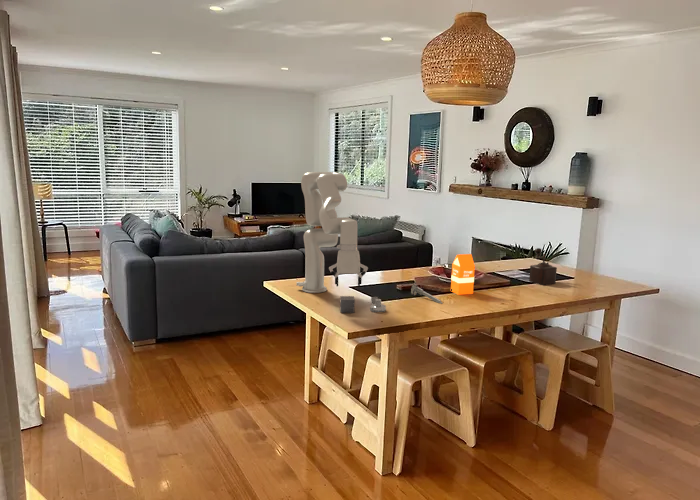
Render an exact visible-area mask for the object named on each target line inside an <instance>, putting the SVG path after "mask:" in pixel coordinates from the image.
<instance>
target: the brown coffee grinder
mask: <svg viewBox="0 0 700 500" xmlns="http://www.w3.org/2000/svg"><path fill="white" fill-rule="evenodd" d="M542 250H543V249H542V248H540V247H537V248H535V249H534V253H535V254H536V255H535V259H542V262H540V263H538V264H532V265H530V266H529V267H530V268H529V276H528V277H529V279H528V281H529V282H530V283H533V284H536V285H540V286H549V285H555V284H556V279H557V269H558V268H557V267H556V266H553V265H551V264H549V261H547V262H545V261H546V253H542V252H543V251H542ZM541 253H542V254H541Z"/></svg>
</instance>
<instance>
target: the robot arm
mask: <svg viewBox="0 0 700 500" xmlns="http://www.w3.org/2000/svg"><path fill="white" fill-rule="evenodd" d="M300 179H301V180H300V185H301V191H302V193H303V197H304V208H305V209H304V210H305V211H304V212H305V221H306V224H307V225H308V226H310V227H321V228H310V229H308V230H305V232H304V233H303V243H304V244H303V245H304V250H305V251H304V254H305V257H304V259H305V264H304V265H305V268H304V269H305V272H304V273H305V276H304V278H305V279H304V281H296V284H295V285H296V286H298V287H302V288H301V290H302V291H303V292H305V293H309V294H310V293H311V294H320V293H325V292H326V291H327V290H328V288H327V286H325V256H324V253H323V251H321V248H331V247H332V248H333V247H335V246H336V249H339V250H338V252H337V260H336V263H334V264H332V265H331V266H329V267H328V270H329V271H330V274H331V275H332V277H334V285H336V287H339V275H340V274H341V275H357V286H358V287H361V285H362V281H363V280H362V279H363V277H364V276H365V275H366V273H367V271H368V269H369V267H368V266H367V265H364V264H362V263H361V257H360V256H361V255H360V251H359V249H358V221H357V220H356V219H352V217H349V216H348V217H347V216H345V217H344V216H343V217H342V216H341V217H338V215H337V211H336V209H335V208H336V207H338V206H339V205H340V204H341V202H342V196H341V193H340V192H344V191H345V190H346V189H347V188H348V181H347V177H346V176H345V175H344V174H343V173H339V172H334V171H310V172H309V171H308V172H305V173H304V174H303V175H302V176H301V178H300ZM338 242H339V244H338ZM337 244H338V245H337ZM335 268H336V272H335V271H334V270H333V269H335ZM361 268H362V269H363V270H362V271H361Z"/></svg>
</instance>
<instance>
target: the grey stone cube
mask: <svg viewBox="0 0 700 500" xmlns="http://www.w3.org/2000/svg"><path fill="white" fill-rule="evenodd" d="M339 299H340V300H339V303H340V304H339V305H340V307H339V308H340V309H339V310H340V311H339V312H340V313H341V312H342V313H341V314H355V296H352V295H351V296H349V295H347V296H346V295H344V296H343V295H341V296H340V298H339ZM346 312H347V313H346Z"/></svg>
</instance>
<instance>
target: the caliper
mask: <svg viewBox="0 0 700 500" xmlns="http://www.w3.org/2000/svg"><path fill="white" fill-rule="evenodd" d="M410 288H411V289H410V294H411V295H412V296H417V294H418V295H420V296H422V295H423V296H425V297H426V298H428V299H431V300H432V301H433V302H435V303H438V304H443V302H442V300H440V299H438V298H437V297H435V296H433V295H432V294H430V293H428V292H426V291H424V289H422V288H421V287H419V286H418V284H416V283H413V285H411V287H410Z"/></svg>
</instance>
